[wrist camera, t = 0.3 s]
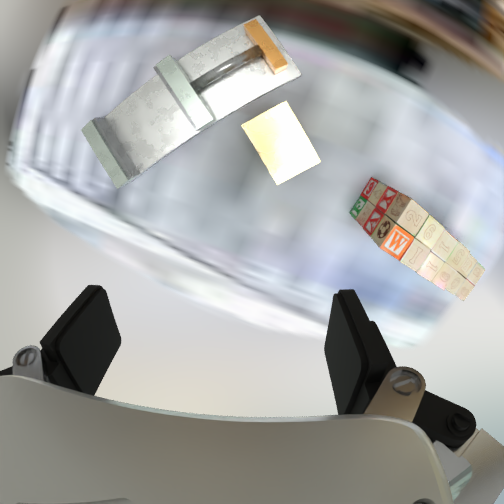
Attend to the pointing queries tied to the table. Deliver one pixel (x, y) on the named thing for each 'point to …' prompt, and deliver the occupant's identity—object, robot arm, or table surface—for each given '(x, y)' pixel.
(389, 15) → the table surface
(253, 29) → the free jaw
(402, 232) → the stack of blocks
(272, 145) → the brass block
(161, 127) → the vise
